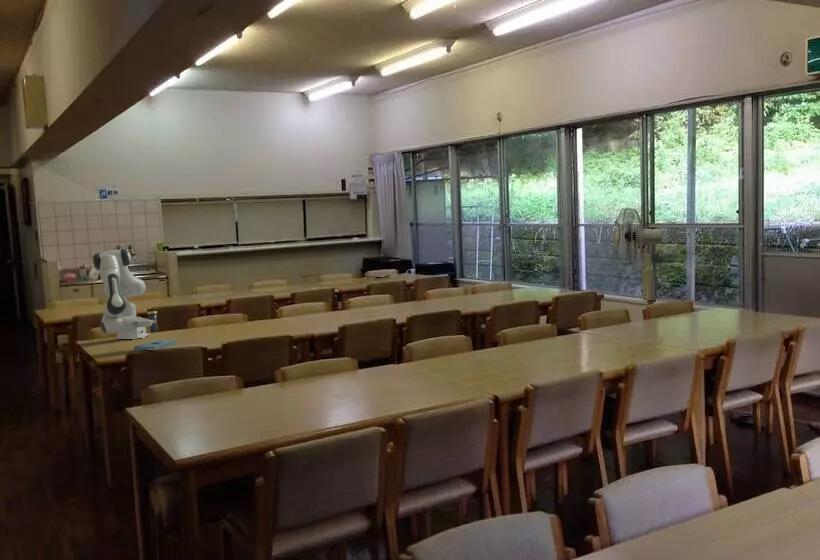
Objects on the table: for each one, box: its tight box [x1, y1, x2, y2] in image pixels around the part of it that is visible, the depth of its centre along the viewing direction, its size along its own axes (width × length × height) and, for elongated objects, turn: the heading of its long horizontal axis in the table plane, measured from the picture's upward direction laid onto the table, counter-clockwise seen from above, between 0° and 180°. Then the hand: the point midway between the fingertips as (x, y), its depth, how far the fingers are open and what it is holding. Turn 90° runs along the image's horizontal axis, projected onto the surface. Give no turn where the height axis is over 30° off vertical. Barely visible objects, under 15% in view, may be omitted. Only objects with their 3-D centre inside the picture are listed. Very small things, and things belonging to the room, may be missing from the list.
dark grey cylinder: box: [147, 310, 159, 333], centre depth 432 cm, size 6×6×12 cm
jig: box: [133, 339, 177, 352], centre depth 433 cm, size 22×14×2 cm, turn 167°
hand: (154, 320), depth 432 cm, fingers closed on dark grey cylinder, 4 cm apart
